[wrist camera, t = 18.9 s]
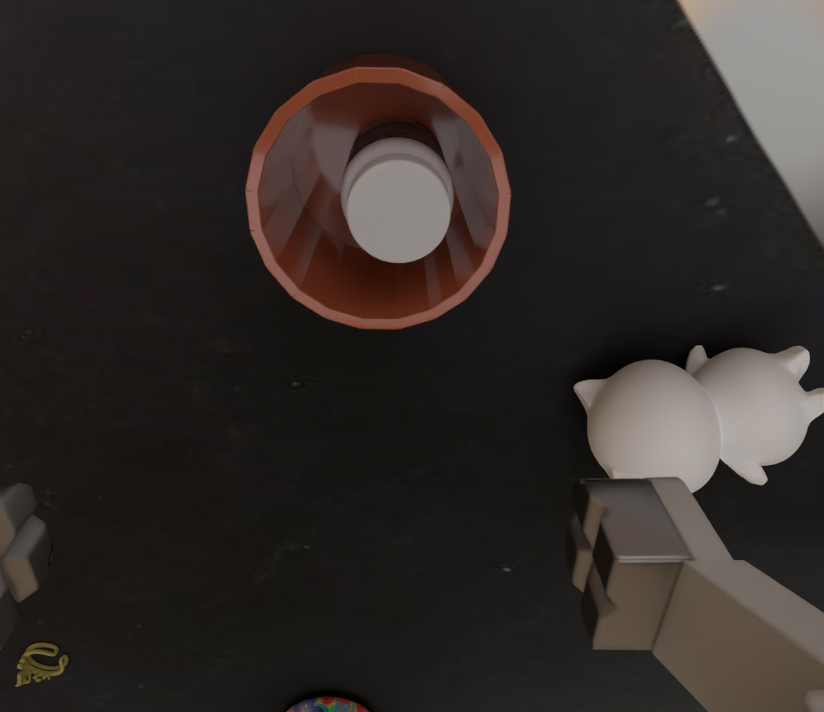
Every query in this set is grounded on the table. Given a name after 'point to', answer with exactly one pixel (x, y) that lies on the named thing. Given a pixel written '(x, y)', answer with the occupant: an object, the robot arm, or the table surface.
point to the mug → (327, 705)
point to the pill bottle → (397, 190)
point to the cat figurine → (700, 415)
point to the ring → (28, 660)
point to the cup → (321, 201)
